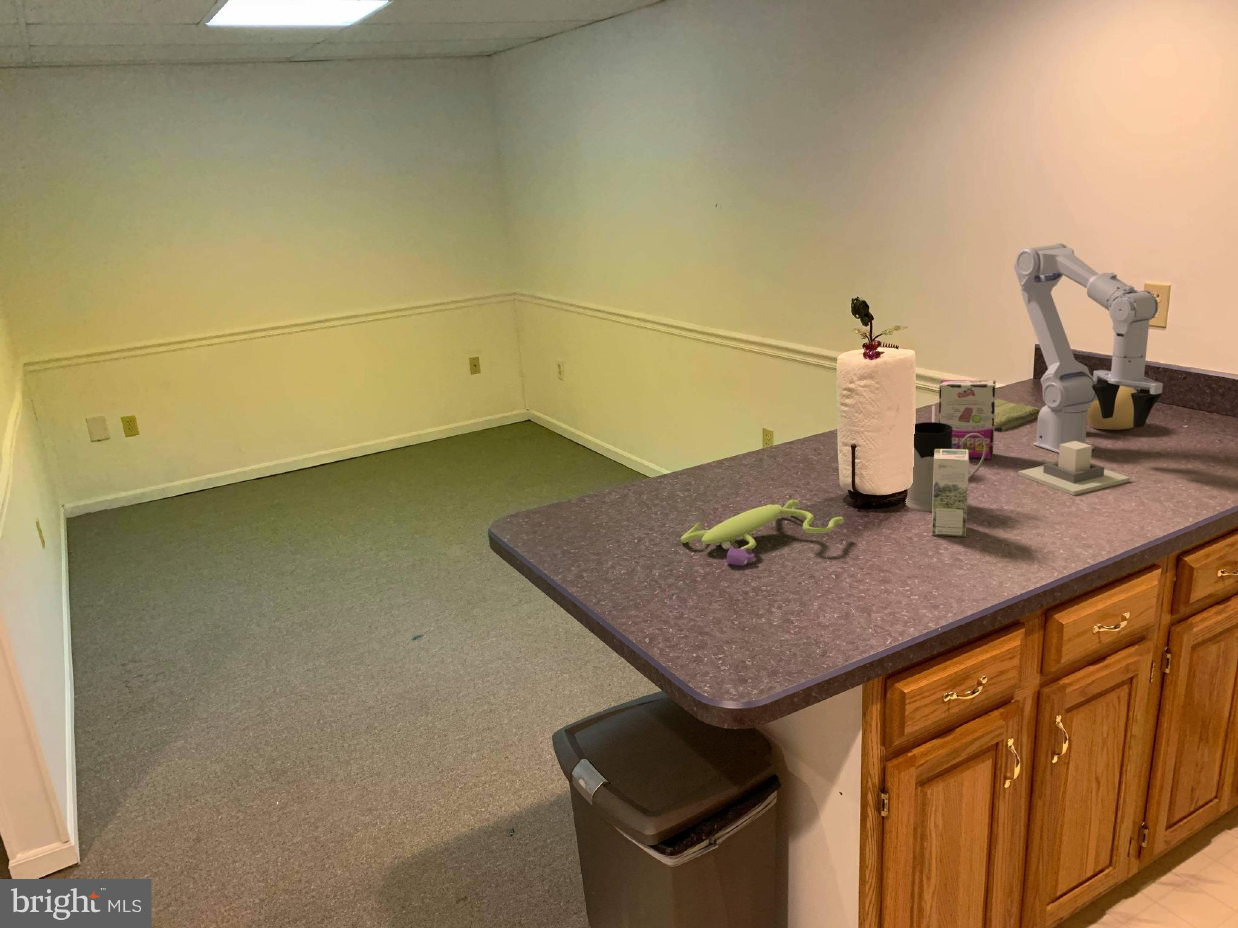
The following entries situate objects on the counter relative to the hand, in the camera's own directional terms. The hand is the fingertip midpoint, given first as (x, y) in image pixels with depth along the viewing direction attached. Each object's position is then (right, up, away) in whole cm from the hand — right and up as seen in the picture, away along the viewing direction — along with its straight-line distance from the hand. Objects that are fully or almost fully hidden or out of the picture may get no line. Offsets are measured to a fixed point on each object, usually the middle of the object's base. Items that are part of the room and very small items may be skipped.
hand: (1122, 422), depth 186 cm
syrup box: (-42, -20, -21) cm, 51 cm away
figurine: (-74, -22, -18) cm, 80 cm away
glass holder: (-39, -16, -8) cm, 43 cm away
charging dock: (-11, -11, -1) cm, 15 cm away
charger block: (-11, -10, -2) cm, 15 cm away
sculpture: (+12, 0, +27) cm, 30 cm away
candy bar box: (-25, -7, +17) cm, 31 cm away
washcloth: (-9, +2, +40) cm, 40 cm away
